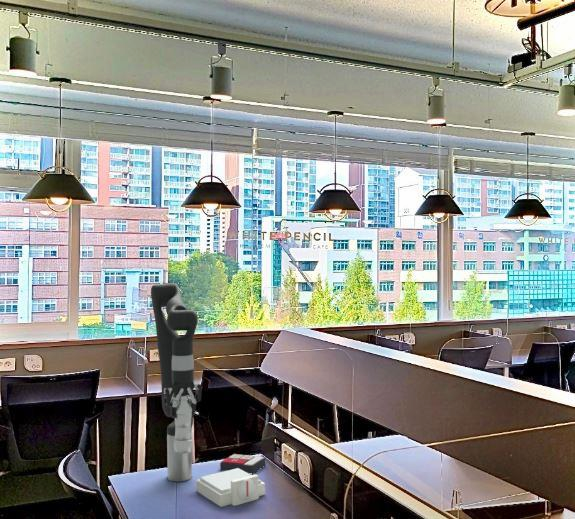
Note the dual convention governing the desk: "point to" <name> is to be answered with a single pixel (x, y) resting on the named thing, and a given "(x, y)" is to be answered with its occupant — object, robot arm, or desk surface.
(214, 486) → the plate
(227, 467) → the calculator
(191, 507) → the desk surface
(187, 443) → the silver metal bottle
